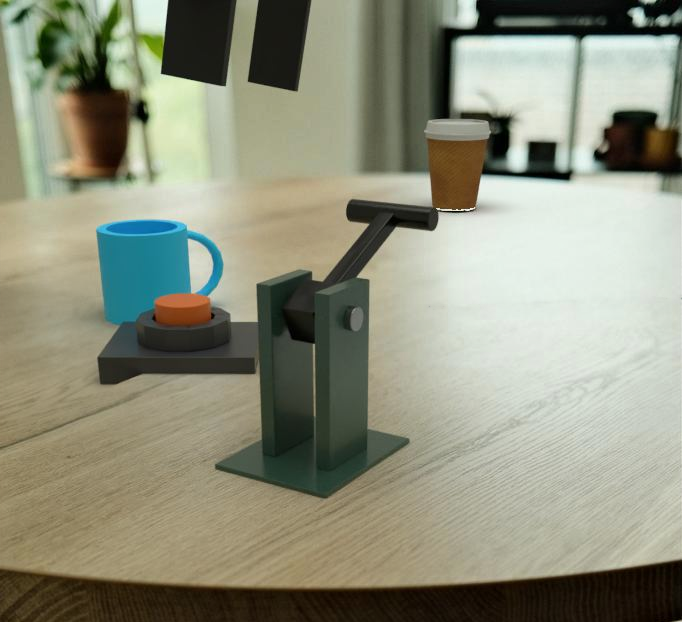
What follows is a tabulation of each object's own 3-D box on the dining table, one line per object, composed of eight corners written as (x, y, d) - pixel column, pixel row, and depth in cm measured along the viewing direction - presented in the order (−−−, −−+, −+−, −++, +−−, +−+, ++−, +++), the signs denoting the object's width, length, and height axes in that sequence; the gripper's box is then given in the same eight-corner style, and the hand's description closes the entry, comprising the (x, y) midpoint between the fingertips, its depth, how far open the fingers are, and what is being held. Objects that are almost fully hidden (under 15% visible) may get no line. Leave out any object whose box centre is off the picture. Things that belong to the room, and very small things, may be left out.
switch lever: (360, 219, 67) (352, 187, 66) (441, 229, 64) (435, 195, 63) (265, 335, 61) (253, 303, 59) (350, 351, 58) (340, 317, 57)
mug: (123, 332, 91) (114, 239, 88) (93, 311, 97) (83, 224, 94) (243, 313, 97) (239, 226, 93) (207, 295, 103) (202, 212, 100)
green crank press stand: (306, 431, 70) (304, 257, 64) (409, 455, 66) (415, 273, 61) (215, 482, 62) (204, 290, 57) (325, 513, 58) (324, 310, 53)
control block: (100, 384, 78) (94, 334, 77) (125, 346, 87) (120, 300, 86) (255, 384, 78) (253, 334, 77) (264, 346, 87) (263, 300, 86)
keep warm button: (151, 329, 79) (149, 307, 78) (160, 314, 83) (159, 293, 82) (208, 329, 79) (206, 307, 78) (214, 314, 83) (213, 293, 82)
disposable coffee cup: (494, 213, 146) (500, 124, 140) (429, 215, 144) (433, 125, 139) (476, 202, 154) (481, 118, 149) (415, 204, 153) (417, 119, 148)
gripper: (340, -675, 30) (239, 95, 38) (431, -335, 53) (356, 100, 61) (99, -704, 31) (52, 57, 39) (292, -356, 53) (236, 76, 62)
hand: (237, 85), depth 50 cm, fingers open, 13 cm apart
